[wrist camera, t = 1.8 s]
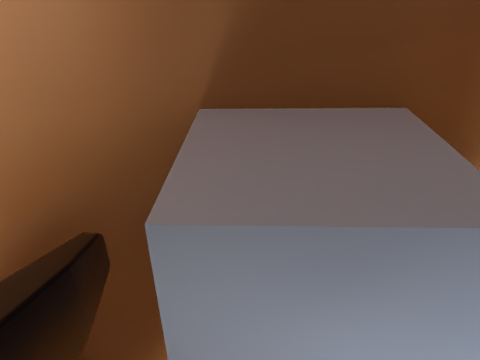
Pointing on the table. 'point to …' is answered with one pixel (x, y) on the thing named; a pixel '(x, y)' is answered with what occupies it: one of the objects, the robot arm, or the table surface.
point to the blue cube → (317, 239)
